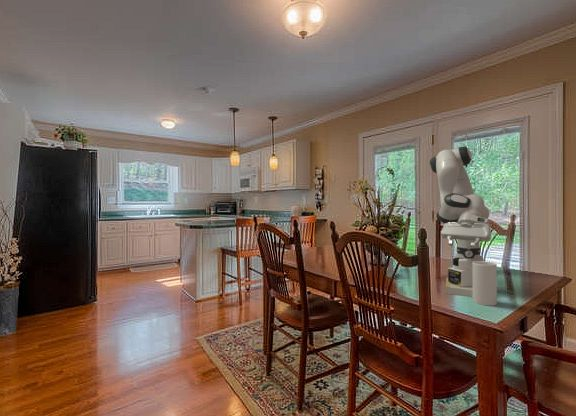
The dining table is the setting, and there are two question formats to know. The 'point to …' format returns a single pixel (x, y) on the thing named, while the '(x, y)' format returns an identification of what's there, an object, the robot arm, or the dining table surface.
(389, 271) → the candy bar box
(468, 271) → the medicine bottle
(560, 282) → the dining table surface
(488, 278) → the cup
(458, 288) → the dock
